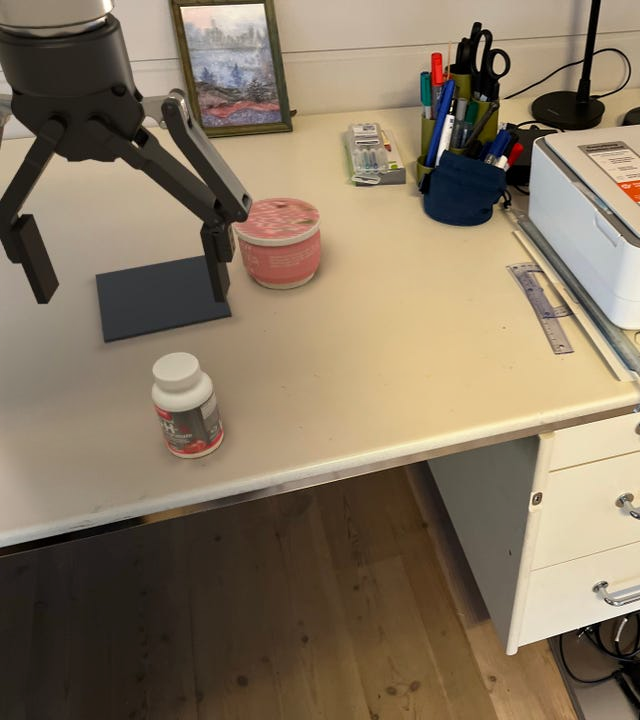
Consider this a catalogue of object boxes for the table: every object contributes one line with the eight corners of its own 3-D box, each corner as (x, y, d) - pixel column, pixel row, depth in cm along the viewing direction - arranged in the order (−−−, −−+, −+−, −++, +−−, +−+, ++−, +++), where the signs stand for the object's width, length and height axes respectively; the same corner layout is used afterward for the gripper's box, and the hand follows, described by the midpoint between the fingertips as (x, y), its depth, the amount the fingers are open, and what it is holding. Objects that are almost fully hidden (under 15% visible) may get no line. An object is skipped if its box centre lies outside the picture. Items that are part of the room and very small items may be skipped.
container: (323, 295, 94) (317, 239, 88) (236, 296, 92) (226, 240, 87) (328, 250, 101) (323, 196, 96) (248, 250, 100) (239, 196, 95)
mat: (104, 342, 85) (103, 340, 84) (96, 277, 94) (95, 274, 94) (231, 316, 89) (231, 313, 89) (211, 256, 99) (210, 253, 99)
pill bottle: (158, 457, 72) (133, 382, 66) (179, 418, 76) (157, 344, 70) (213, 462, 72) (194, 387, 66) (232, 423, 76) (215, 349, 70)
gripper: (264, 5, 51) (297, 267, 65) (-128, -6, 49) (-7, 268, 63) (247, 41, 46) (288, 319, 59) (-197, 31, 43) (-48, 323, 57)
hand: (136, 293), depth 61 cm, fingers open, 13 cm apart
